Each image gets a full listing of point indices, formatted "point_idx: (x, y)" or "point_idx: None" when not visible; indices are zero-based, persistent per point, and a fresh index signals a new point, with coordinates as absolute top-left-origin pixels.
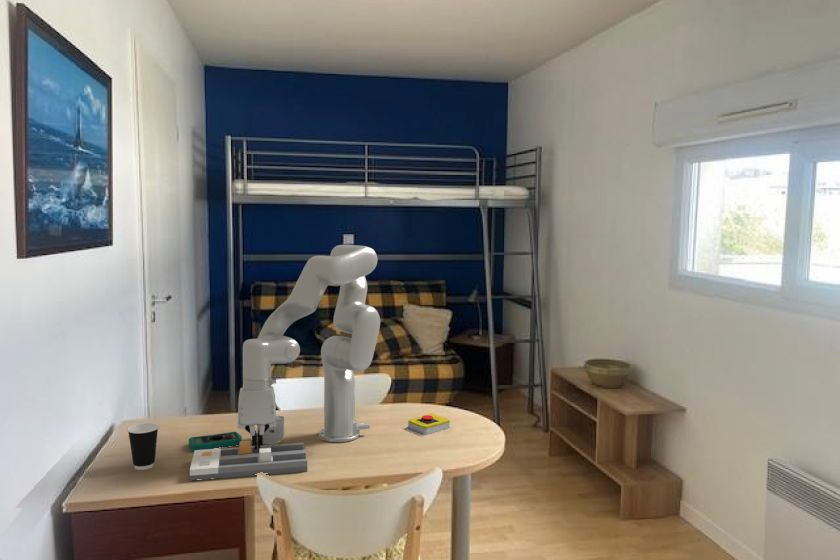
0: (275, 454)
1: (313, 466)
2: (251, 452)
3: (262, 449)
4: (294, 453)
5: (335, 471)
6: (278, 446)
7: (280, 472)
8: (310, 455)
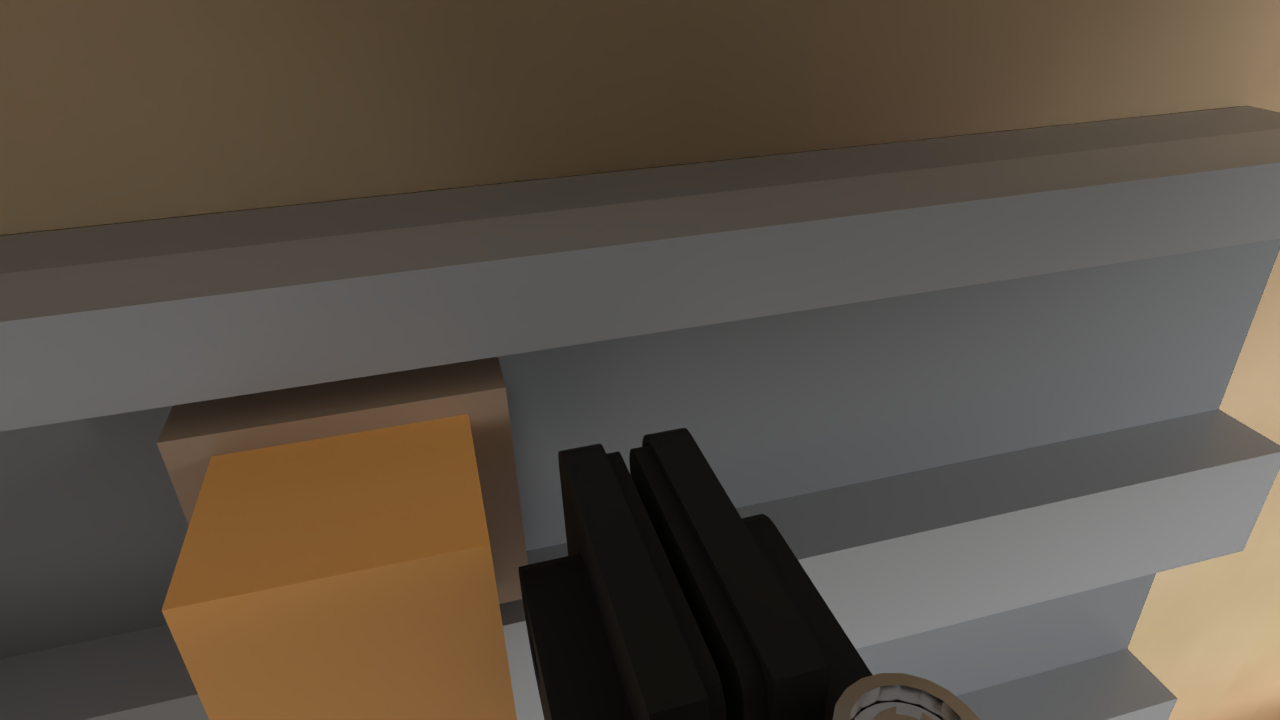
0: (884, 621)
1: None
2: (506, 575)
3: None
4: (1120, 572)
5: (1267, 617)
6: (998, 274)
7: None
8: None
